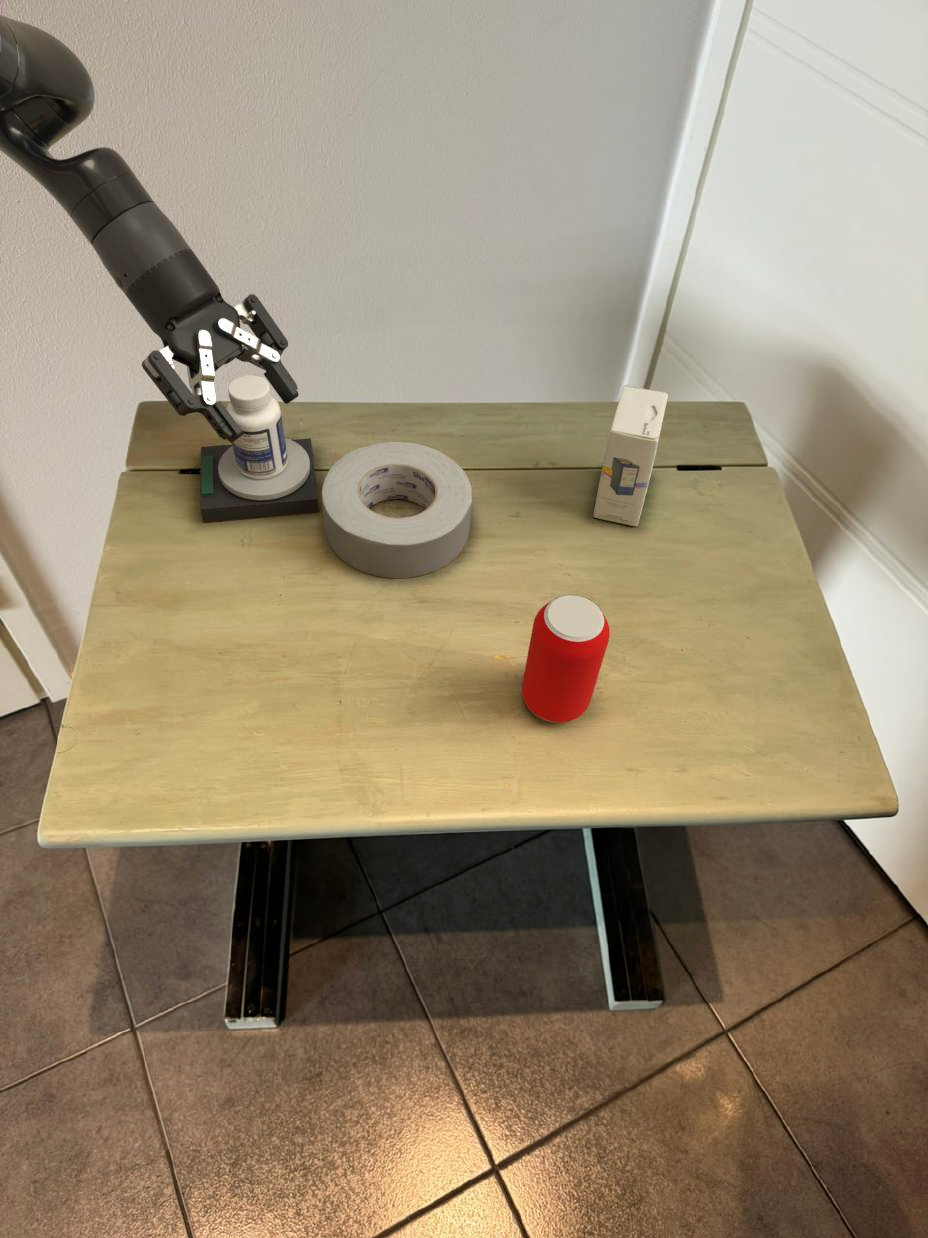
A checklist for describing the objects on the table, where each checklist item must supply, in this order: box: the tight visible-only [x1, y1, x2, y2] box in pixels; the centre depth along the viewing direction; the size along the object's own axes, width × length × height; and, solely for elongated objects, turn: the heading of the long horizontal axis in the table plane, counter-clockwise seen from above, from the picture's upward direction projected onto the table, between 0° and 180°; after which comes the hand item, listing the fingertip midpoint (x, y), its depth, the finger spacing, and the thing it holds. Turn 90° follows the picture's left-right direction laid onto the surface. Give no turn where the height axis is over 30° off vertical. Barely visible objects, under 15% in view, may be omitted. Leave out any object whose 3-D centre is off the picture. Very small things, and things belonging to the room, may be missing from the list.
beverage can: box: [521, 594, 611, 723], centre depth 71 cm, size 6×6×12 cm
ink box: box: [593, 384, 669, 527], centre depth 88 cm, size 9×5×12 cm, turn 164°
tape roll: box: [321, 441, 473, 579], centre depth 86 cm, size 15×15×5 cm
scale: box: [199, 437, 320, 524], centre depth 90 cm, size 12×10×3 cm
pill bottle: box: [225, 374, 288, 479], centre depth 85 cm, size 5×5×10 cm
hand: (265, 418), depth 83 cm, fingers open, 7 cm apart
